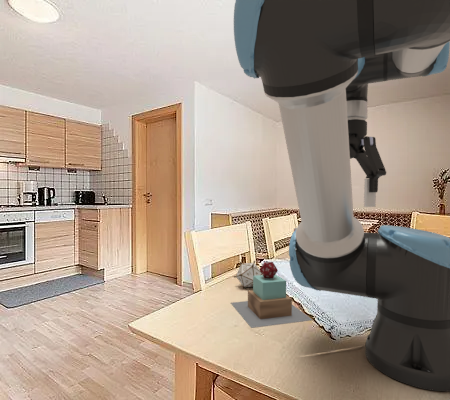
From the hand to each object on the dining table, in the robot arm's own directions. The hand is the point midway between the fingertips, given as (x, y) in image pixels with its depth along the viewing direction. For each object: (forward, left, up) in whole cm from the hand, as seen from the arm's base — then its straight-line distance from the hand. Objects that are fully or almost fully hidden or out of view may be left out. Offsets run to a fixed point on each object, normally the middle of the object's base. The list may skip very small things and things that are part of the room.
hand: (349, 205), depth 78 cm
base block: (+2, +21, -26) cm, 33 cm away
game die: (+21, +19, -26) cm, 38 cm away
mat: (+2, +21, -26) cm, 34 cm away
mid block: (+2, +21, -22) cm, 30 cm away
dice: (+2, +21, -18) cm, 28 cm away
